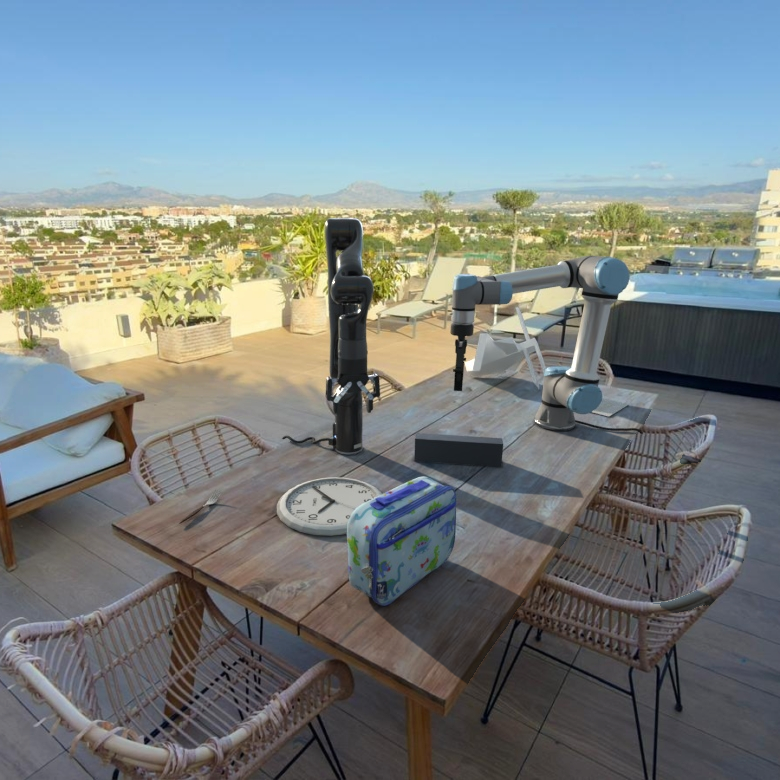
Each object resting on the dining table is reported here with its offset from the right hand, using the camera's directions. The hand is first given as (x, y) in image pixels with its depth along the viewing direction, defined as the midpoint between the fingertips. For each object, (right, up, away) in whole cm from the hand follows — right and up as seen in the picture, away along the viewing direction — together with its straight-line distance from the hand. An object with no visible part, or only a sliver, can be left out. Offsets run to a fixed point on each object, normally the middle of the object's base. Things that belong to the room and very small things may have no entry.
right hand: (458, 384), depth 178 cm
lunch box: (-20, -43, -64) cm, 79 cm away
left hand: (-33, -8, -38) cm, 51 cm away
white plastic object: (+33, +2, +81) cm, 87 cm away
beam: (-1, -25, -6) cm, 26 cm away
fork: (-74, -34, -39) cm, 90 cm away
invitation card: (+68, -9, +49) cm, 84 cm away
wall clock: (-39, -33, -35) cm, 62 cm away
